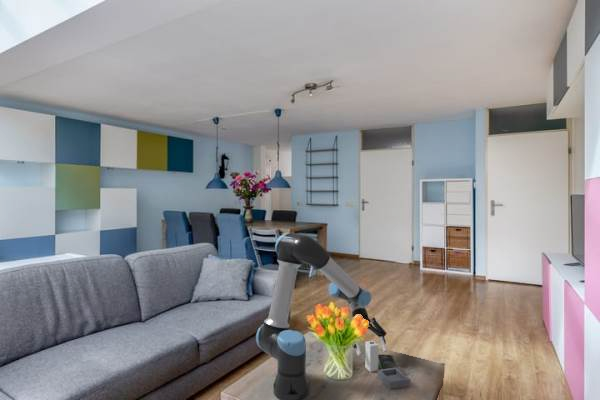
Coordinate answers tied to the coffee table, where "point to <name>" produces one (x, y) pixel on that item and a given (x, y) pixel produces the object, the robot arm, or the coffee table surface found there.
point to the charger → (371, 356)
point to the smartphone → (386, 361)
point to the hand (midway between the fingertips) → (372, 352)
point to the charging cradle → (393, 378)
